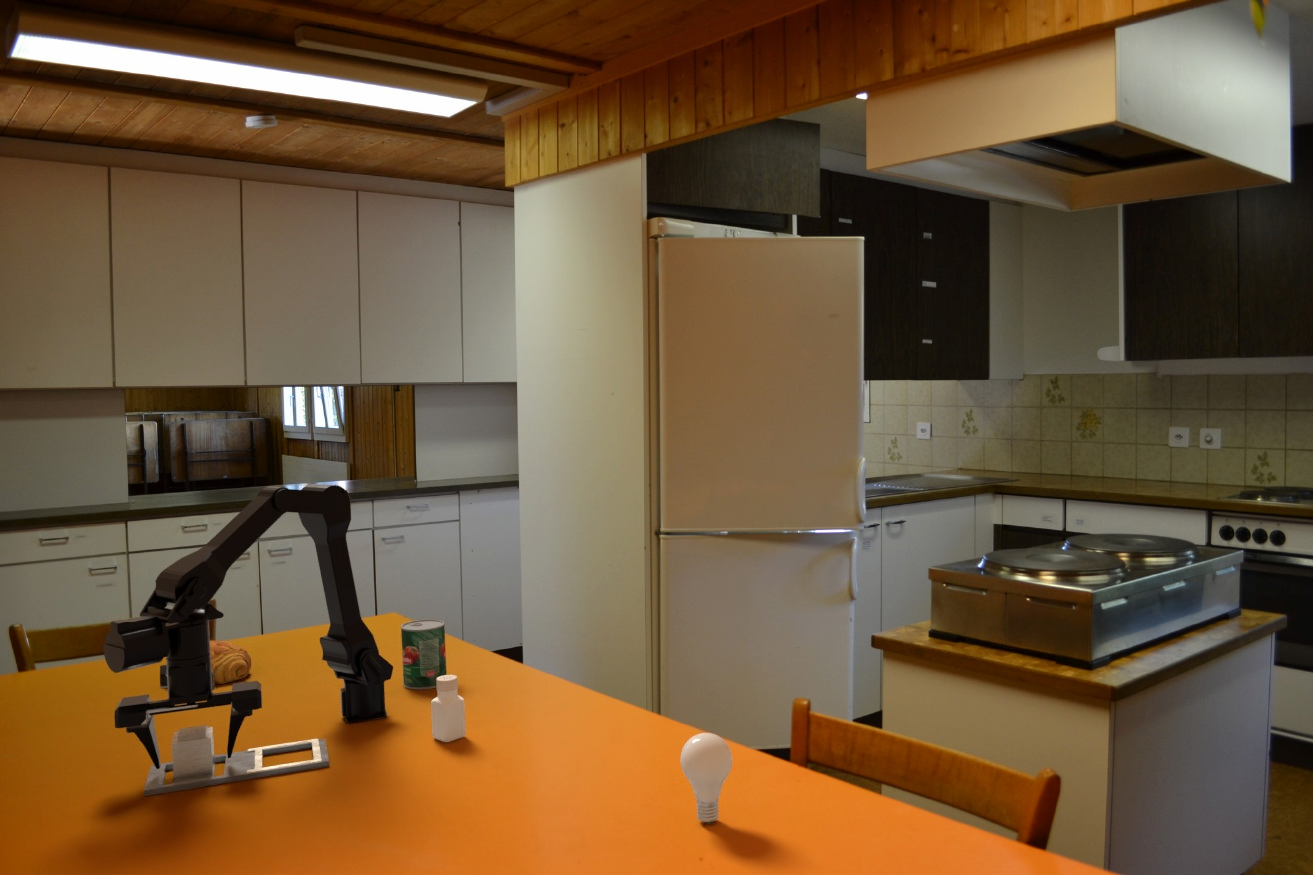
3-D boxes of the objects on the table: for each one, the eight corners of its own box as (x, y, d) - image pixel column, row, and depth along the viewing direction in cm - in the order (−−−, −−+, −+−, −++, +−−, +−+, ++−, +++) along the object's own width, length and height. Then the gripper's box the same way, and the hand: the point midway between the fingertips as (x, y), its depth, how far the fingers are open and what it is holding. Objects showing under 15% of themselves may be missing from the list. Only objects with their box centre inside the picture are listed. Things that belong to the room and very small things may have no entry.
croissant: (222, 674, 200) (218, 635, 200) (265, 675, 191) (261, 634, 191) (150, 691, 188) (146, 649, 189) (193, 693, 179) (188, 649, 179)
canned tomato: (456, 680, 184) (453, 621, 183) (425, 691, 177) (422, 631, 176) (425, 674, 188) (423, 617, 187) (394, 685, 181) (391, 626, 181)
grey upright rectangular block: (214, 766, 144) (212, 722, 144) (213, 779, 140) (210, 733, 139) (176, 772, 142) (174, 727, 142) (174, 785, 138) (171, 739, 137)
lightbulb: (679, 812, 124) (677, 726, 124) (729, 809, 125) (727, 723, 124) (685, 835, 118) (682, 745, 117) (737, 831, 118) (735, 741, 118)
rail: (325, 743, 152) (324, 737, 152) (329, 766, 143) (328, 759, 143) (151, 770, 143) (151, 763, 143) (143, 796, 134) (143, 788, 134)
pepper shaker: (467, 737, 153) (465, 676, 153) (446, 744, 150) (443, 683, 150) (452, 731, 156) (449, 672, 156) (430, 738, 153) (428, 678, 153)
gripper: (259, 634, 151) (264, 734, 152) (121, 649, 144) (127, 754, 145) (259, 651, 141) (264, 759, 141) (110, 669, 134) (117, 781, 135)
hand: (194, 762), depth 141 cm, fingers open, 9 cm apart
